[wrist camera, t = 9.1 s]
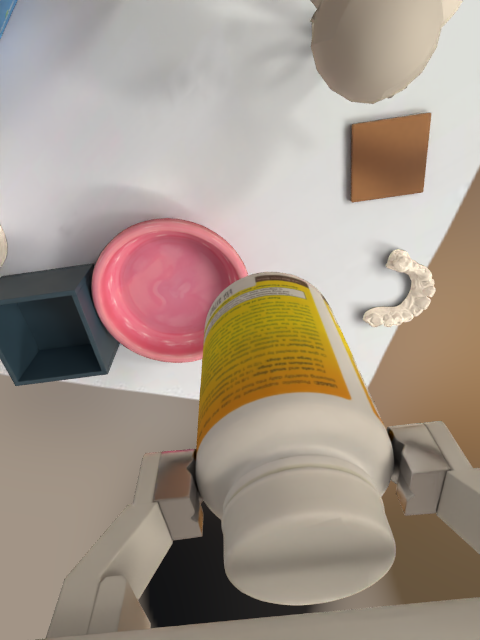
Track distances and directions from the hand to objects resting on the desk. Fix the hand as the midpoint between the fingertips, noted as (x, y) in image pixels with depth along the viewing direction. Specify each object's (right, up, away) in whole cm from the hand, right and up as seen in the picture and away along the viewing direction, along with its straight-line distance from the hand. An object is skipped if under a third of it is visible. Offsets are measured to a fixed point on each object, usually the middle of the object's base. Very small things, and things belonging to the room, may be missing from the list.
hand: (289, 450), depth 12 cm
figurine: (+4, +21, +14) cm, 26 cm away
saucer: (-7, +7, +22) cm, 24 cm away
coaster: (+9, +16, +17) cm, 25 cm away
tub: (-17, +5, +23) cm, 29 cm away
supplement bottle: (0, +4, +6) cm, 7 cm away
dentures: (+12, +5, +21) cm, 25 cm away
